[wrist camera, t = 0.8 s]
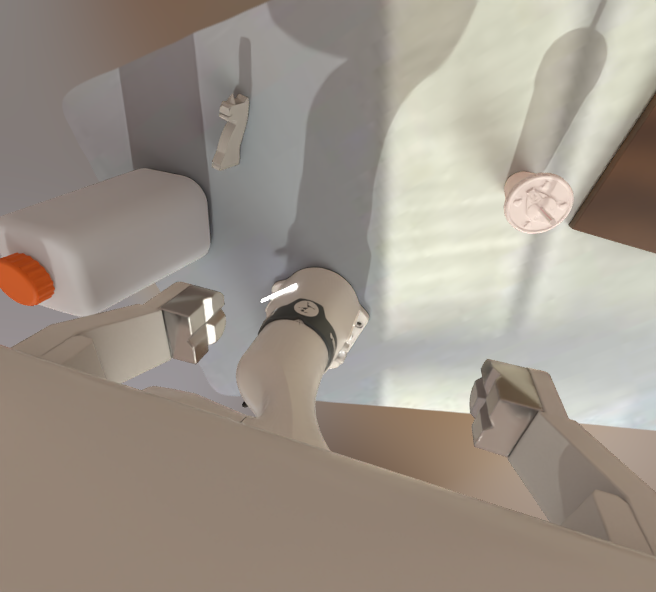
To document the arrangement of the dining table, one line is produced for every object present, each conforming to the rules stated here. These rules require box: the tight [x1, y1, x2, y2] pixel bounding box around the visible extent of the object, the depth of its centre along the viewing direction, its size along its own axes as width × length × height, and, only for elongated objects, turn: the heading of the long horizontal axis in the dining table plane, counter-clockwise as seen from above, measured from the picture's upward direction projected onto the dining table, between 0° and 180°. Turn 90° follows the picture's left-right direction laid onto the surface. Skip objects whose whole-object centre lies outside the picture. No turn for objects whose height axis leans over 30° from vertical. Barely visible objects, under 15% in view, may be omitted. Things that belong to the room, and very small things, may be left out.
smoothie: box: [504, 171, 573, 234], centre depth 38 cm, size 6×6×14 cm
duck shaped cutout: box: [212, 93, 249, 171], centre depth 47 cm, size 6×1×10 cm
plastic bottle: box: [0, 168, 211, 317], centre depth 49 cm, size 15×15×28 cm
